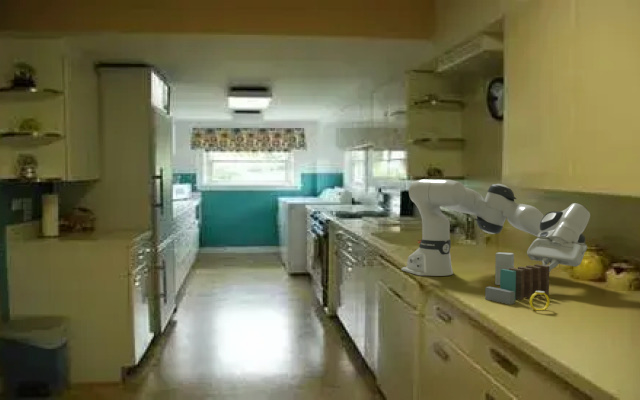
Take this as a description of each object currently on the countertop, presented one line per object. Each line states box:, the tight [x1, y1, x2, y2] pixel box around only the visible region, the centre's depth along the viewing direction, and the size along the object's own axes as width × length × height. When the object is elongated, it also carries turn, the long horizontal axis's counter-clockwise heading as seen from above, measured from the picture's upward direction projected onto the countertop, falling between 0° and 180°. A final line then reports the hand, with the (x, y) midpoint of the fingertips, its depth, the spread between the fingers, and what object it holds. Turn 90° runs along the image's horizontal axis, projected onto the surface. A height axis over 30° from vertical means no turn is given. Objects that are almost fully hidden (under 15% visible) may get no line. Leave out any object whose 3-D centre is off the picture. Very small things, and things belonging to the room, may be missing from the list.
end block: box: [484, 286, 516, 305], centre depth 207 cm, size 10×2×4 cm, turn 35°
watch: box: [529, 291, 551, 311], centre depth 195 cm, size 6×3×6 cm, turn 96°
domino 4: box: [525, 265, 542, 297], centre depth 217 cm, size 2×5×10 cm, turn 35°
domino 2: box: [509, 267, 525, 301], centre depth 212 cm, size 2×5×10 cm, turn 34°
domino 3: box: [517, 266, 533, 299], centre depth 214 cm, size 2×5×10 cm, turn 34°
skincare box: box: [494, 252, 515, 286], centre depth 236 cm, size 6×4×12 cm
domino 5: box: [533, 264, 550, 296], centre depth 219 cm, size 2×5×10 cm, turn 35°
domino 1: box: [499, 269, 516, 302], centre depth 209 cm, size 2×5×10 cm, turn 35°
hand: (545, 270), depth 220 cm, fingers closed
